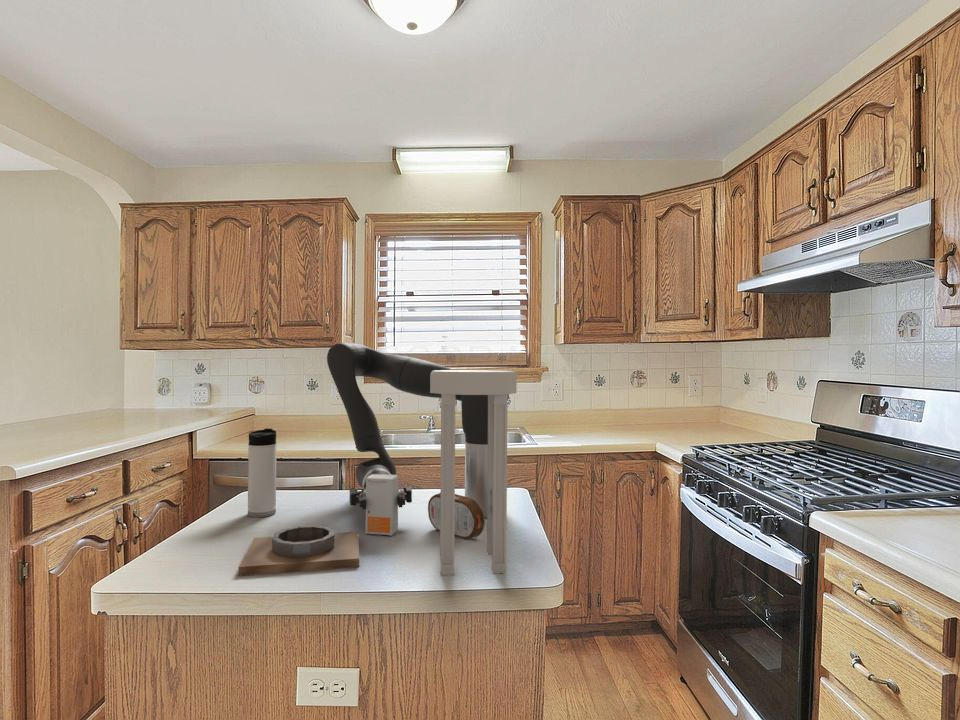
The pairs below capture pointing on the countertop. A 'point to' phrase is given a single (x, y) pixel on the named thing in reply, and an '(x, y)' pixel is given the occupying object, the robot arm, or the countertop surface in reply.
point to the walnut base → (267, 562)
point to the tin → (459, 516)
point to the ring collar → (289, 548)
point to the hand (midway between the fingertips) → (382, 503)
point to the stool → (497, 391)
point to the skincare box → (381, 504)
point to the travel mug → (262, 473)
